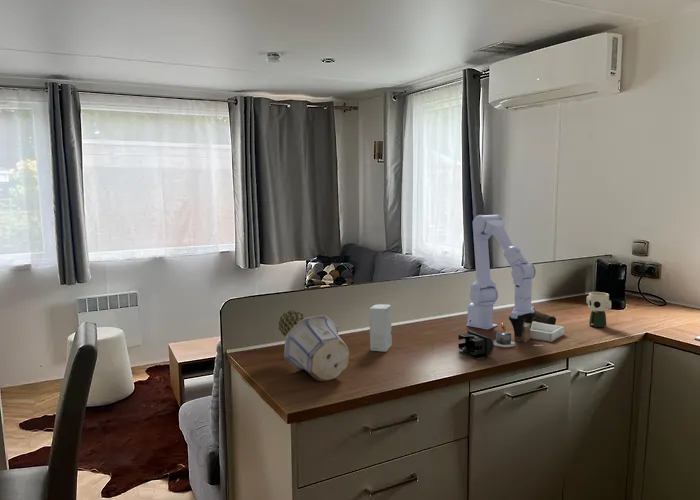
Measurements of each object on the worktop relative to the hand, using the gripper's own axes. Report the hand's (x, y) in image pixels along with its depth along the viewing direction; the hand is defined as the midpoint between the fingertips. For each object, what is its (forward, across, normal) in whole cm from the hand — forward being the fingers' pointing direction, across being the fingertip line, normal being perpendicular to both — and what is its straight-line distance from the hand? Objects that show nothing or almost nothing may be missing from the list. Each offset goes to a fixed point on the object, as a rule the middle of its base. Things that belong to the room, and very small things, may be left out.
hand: (522, 334), depth 191 cm
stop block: (+2, 0, 0) cm, 2 cm away
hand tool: (+2, +30, +8) cm, 31 cm away
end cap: (+2, -25, +5) cm, 26 cm away
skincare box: (+2, -40, +33) cm, 52 cm away
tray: (+2, +10, -3) cm, 10 cm away
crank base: (+2, -7, -1) cm, 7 cm away
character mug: (+2, +36, -14) cm, 39 cm away
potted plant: (+2, -70, +36) cm, 79 cm away
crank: (+1, -6, +5) cm, 8 cm away
